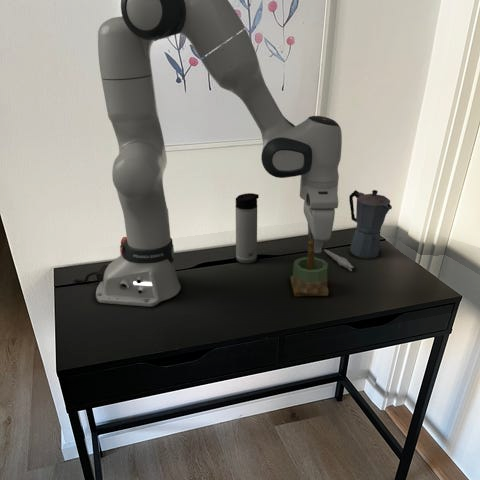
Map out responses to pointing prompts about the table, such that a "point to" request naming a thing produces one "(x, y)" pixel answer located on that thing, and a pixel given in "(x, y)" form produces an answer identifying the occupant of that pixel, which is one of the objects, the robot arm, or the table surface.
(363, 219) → the moka pot
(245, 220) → the travel mug
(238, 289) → the table surface
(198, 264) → the table surface
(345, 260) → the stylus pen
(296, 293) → the peg stand
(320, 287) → the birch ring
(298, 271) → the sage ring
